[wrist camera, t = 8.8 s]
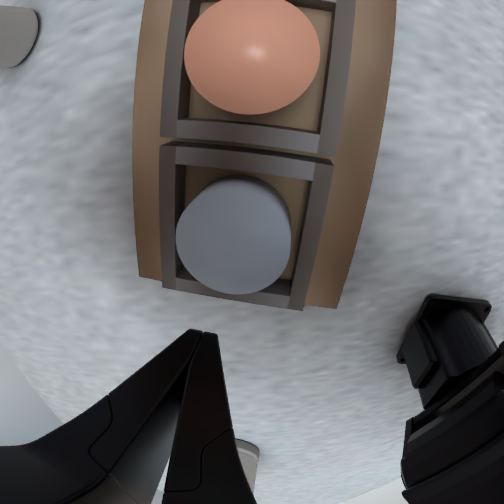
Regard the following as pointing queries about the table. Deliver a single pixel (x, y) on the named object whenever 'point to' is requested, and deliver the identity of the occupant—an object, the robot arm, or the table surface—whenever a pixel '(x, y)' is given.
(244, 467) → the travel mug
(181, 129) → the button panel
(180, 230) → the blue-grey flat rounded piece
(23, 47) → the beverage can
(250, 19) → the terracotta button
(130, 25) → the table surface
